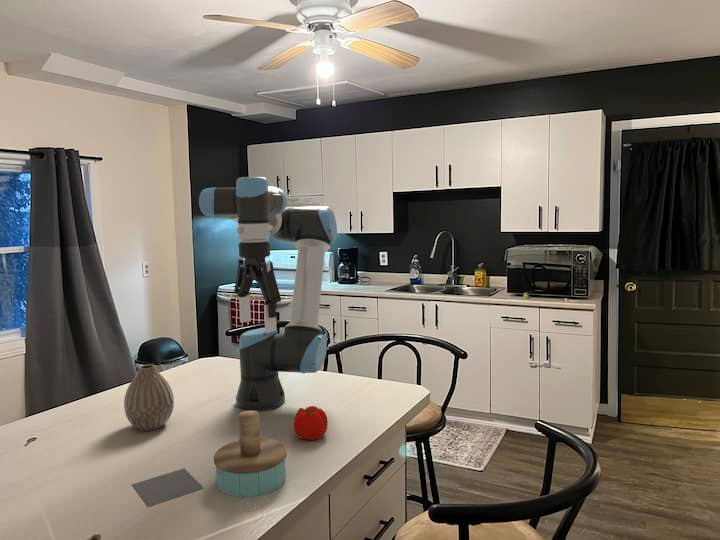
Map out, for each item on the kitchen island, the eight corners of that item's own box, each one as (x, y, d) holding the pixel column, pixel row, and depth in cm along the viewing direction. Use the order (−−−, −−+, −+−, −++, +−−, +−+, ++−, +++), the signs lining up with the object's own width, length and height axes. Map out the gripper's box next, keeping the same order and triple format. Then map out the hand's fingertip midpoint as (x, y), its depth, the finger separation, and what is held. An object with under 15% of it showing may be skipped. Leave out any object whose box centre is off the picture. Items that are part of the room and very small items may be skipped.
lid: (202, 454, 126) (200, 412, 125) (265, 435, 136) (264, 396, 135) (232, 481, 114) (230, 435, 113) (300, 458, 123) (298, 415, 122)
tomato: (312, 427, 155) (312, 401, 154) (334, 436, 149) (333, 409, 148) (285, 437, 149) (284, 410, 148) (306, 447, 143) (306, 419, 142)
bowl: (207, 478, 127) (205, 454, 126) (266, 459, 136) (265, 436, 135) (235, 506, 115) (234, 479, 114) (298, 483, 124) (297, 458, 124)
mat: (131, 486, 124) (131, 484, 124) (184, 469, 131) (184, 468, 131) (148, 508, 115) (147, 507, 115) (204, 489, 122) (204, 488, 122)
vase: (117, 427, 158) (113, 367, 156) (161, 414, 167) (157, 357, 165) (139, 440, 149) (134, 376, 147) (183, 425, 158) (180, 365, 156)
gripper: (218, 239, 144) (222, 320, 147) (264, 244, 124) (268, 337, 127) (245, 238, 148) (248, 316, 151) (293, 242, 129) (296, 332, 131)
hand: (257, 326), depth 139 cm, fingers open, 13 cm apart
